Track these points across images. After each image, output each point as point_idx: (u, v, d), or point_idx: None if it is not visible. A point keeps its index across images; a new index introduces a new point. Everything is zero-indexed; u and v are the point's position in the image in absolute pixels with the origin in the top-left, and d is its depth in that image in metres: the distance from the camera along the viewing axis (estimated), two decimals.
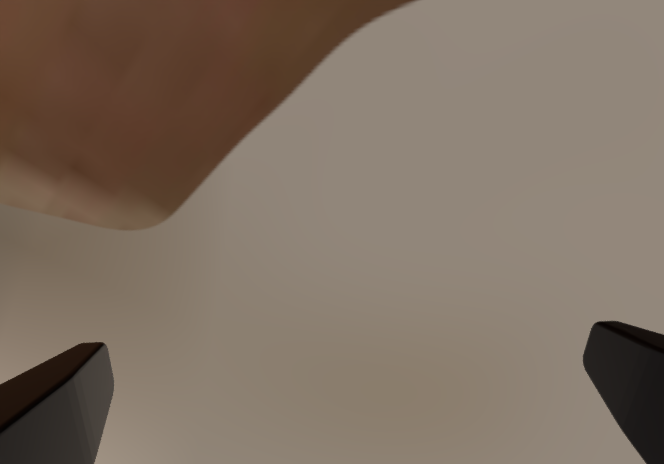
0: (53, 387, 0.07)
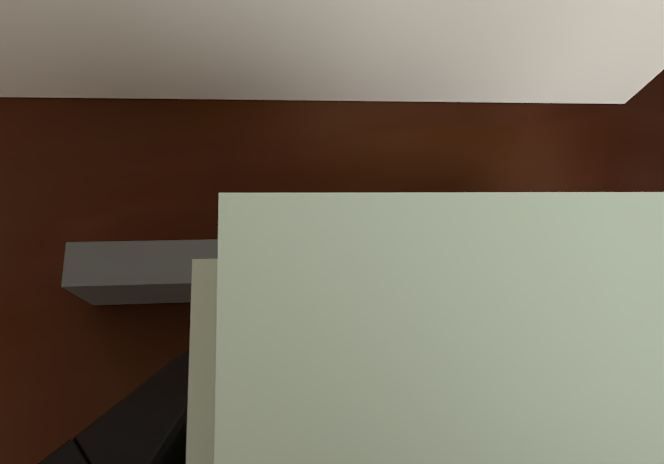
0: None
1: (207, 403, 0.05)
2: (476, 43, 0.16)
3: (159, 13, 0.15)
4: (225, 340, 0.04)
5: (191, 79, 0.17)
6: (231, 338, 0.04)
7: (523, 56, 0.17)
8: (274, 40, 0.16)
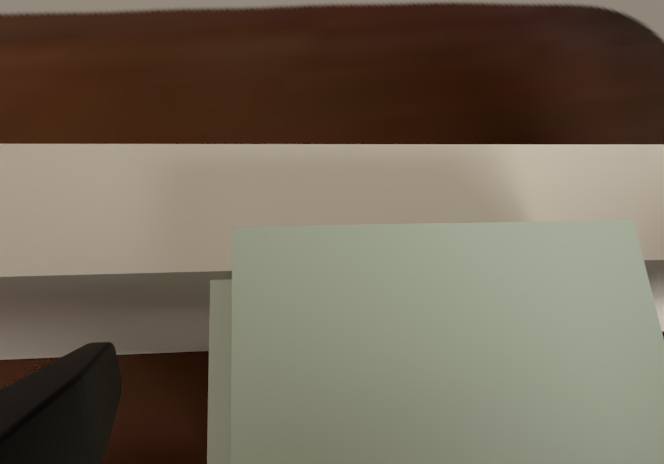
0: (63, 386, 0.07)
1: (224, 400, 0.06)
2: None
3: (148, 333, 0.13)
4: (239, 349, 0.05)
5: (186, 347, 0.16)
6: (243, 348, 0.05)
7: None
8: None
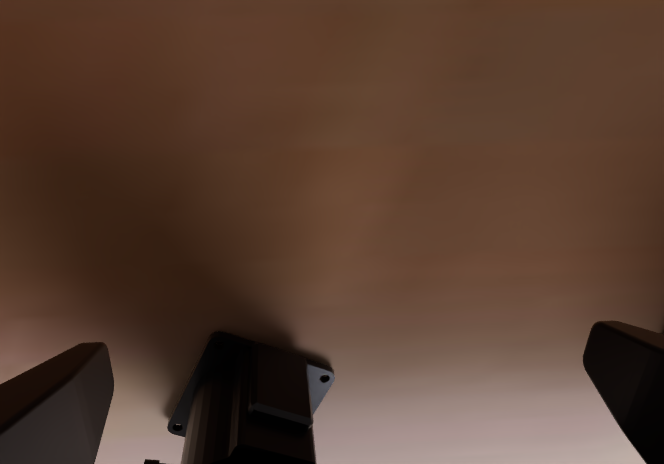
0: (53, 387, 0.07)
1: None
2: None
3: None
4: None
5: None
6: None
7: None
8: None
